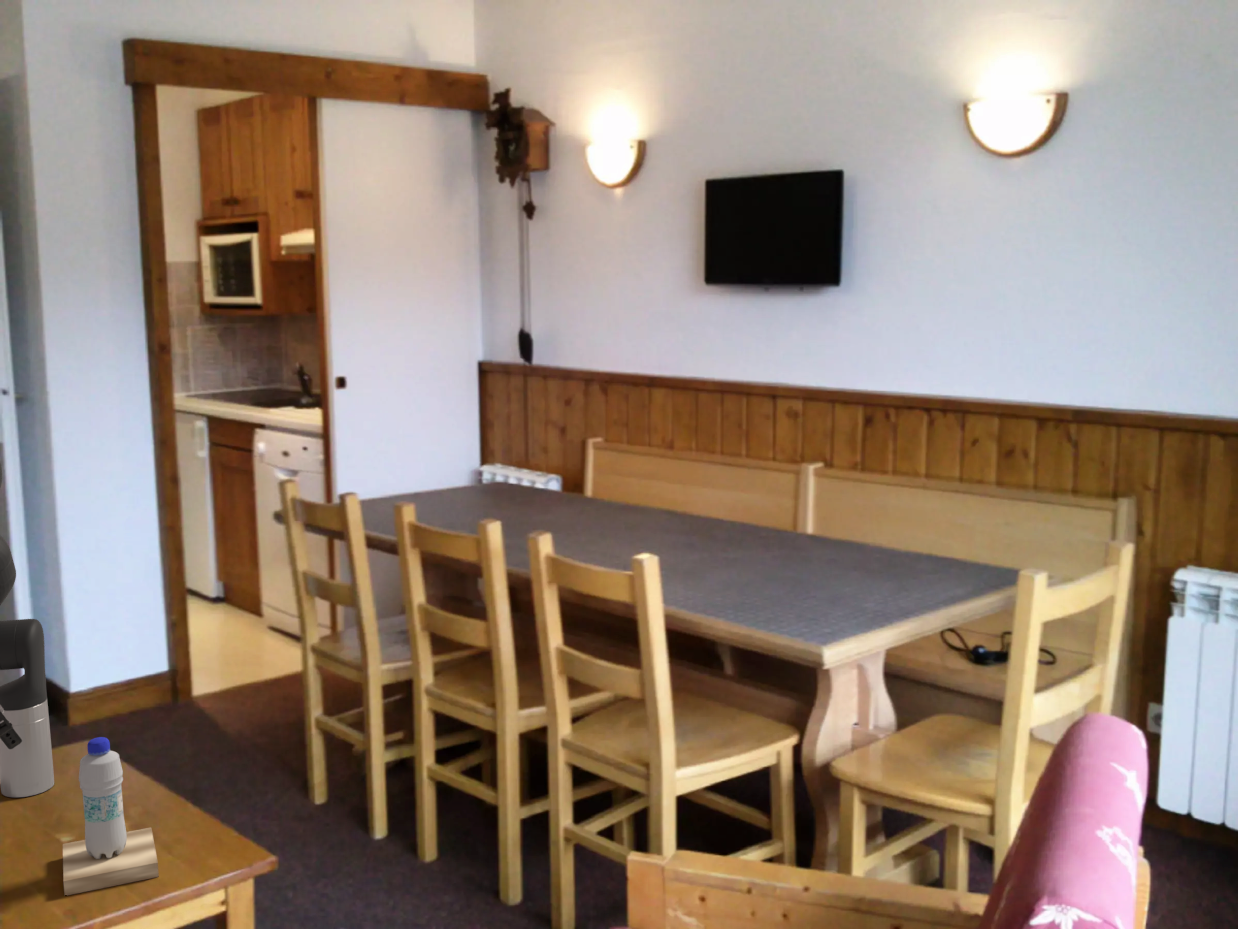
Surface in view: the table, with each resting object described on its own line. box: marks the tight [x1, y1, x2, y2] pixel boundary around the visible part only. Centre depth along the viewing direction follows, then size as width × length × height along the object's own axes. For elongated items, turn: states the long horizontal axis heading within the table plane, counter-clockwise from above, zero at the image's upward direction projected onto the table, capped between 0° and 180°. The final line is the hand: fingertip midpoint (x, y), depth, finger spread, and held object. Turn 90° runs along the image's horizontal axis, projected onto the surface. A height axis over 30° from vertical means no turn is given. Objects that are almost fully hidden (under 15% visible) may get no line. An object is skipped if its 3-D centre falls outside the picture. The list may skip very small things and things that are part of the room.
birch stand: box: [62, 827, 160, 896], centre depth 200 cm, size 14×14×2 cm
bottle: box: [78, 736, 127, 859], centre depth 198 cm, size 7×7×20 cm
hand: (7, 733), depth 190 cm, fingers open, 8 cm apart
